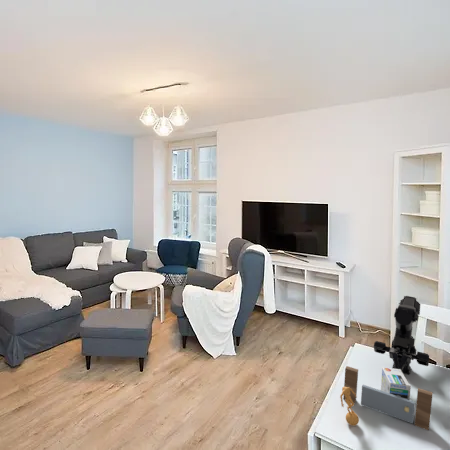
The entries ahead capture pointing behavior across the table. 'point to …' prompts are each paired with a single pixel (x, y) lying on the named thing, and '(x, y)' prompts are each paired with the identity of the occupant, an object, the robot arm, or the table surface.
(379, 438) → the table surface
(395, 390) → the light bulb box
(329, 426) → the table surface
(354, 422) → the figurine
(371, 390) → the gate
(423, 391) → the wooden fence posts
